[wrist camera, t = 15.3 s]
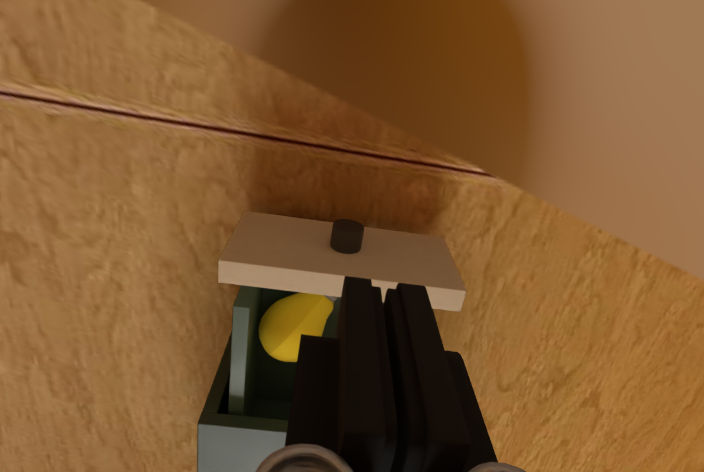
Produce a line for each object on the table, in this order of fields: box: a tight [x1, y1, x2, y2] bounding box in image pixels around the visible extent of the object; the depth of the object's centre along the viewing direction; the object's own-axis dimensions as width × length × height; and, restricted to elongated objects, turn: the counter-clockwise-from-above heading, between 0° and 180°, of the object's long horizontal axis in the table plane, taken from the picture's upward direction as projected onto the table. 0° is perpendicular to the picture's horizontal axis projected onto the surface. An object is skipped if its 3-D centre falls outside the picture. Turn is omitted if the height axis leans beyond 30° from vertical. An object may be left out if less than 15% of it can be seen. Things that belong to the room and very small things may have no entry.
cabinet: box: [197, 332, 288, 472], centre depth 30 cm, size 15×13×8 cm
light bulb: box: [259, 292, 337, 362], centre depth 25 cm, size 3×6×4 cm
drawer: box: [218, 211, 466, 420], centre depth 26 cm, size 15×11×6 cm
